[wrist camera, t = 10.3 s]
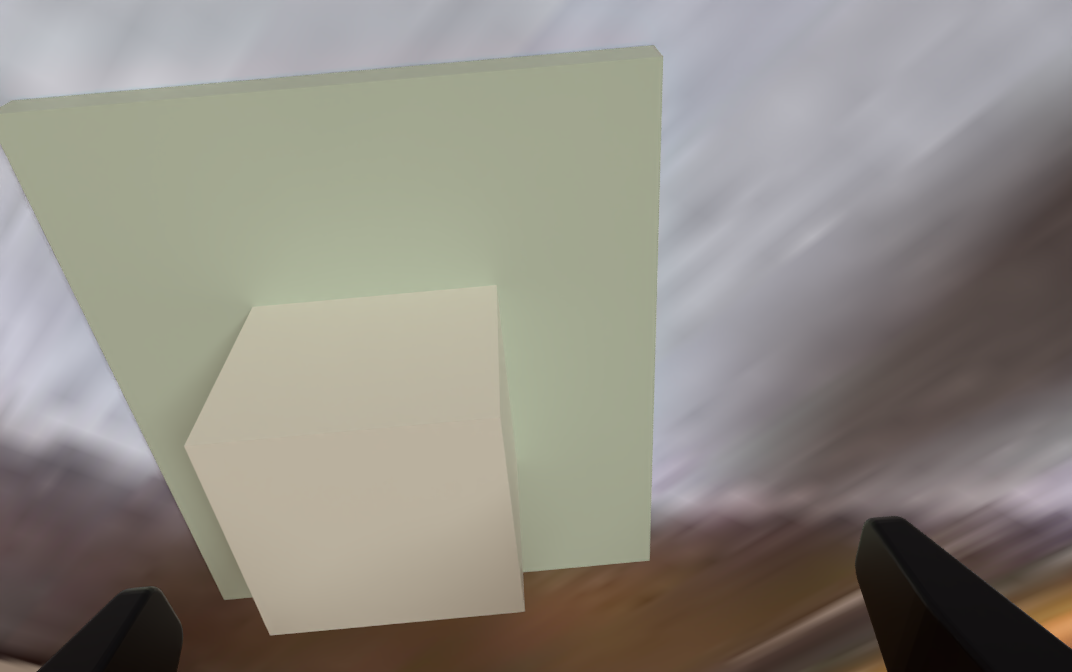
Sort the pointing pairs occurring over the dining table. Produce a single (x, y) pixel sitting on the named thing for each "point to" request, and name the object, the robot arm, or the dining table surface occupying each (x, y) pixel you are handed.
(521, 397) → the stub plate
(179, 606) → the dining table surface
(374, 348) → the block
